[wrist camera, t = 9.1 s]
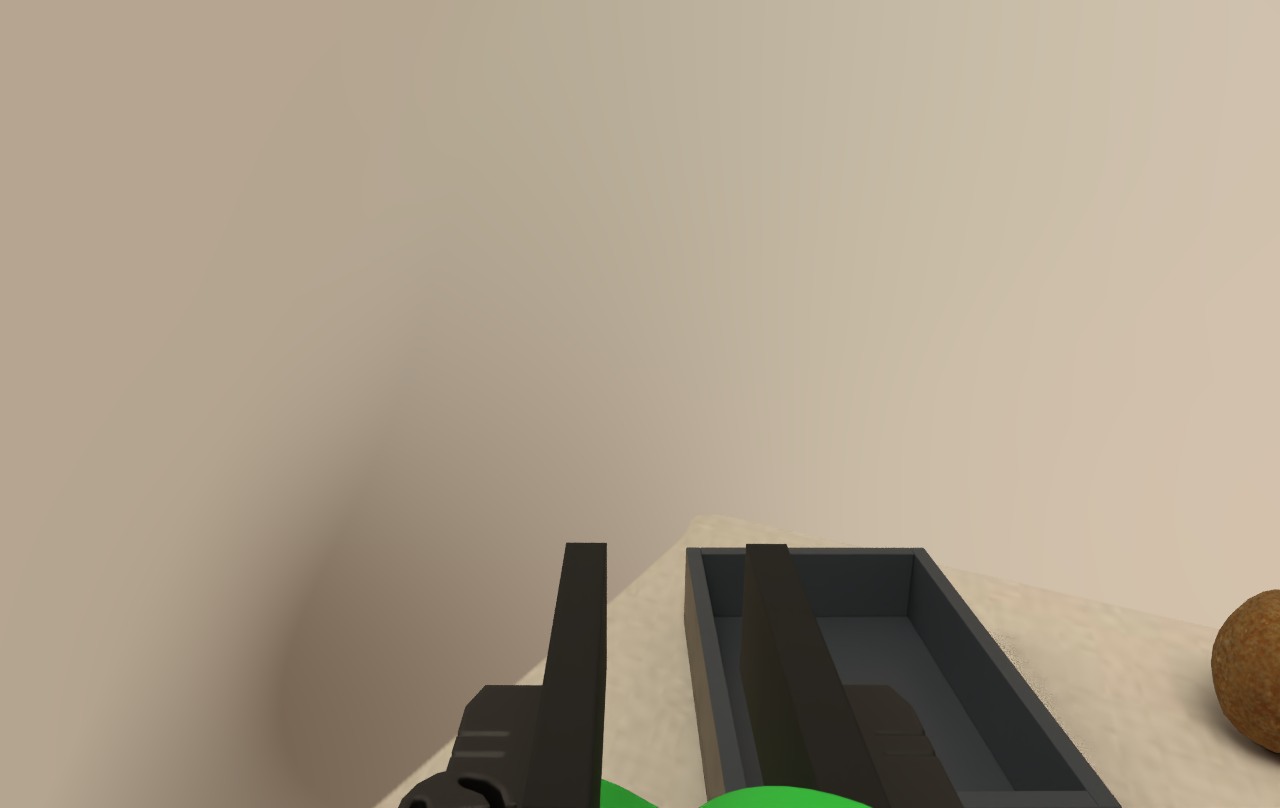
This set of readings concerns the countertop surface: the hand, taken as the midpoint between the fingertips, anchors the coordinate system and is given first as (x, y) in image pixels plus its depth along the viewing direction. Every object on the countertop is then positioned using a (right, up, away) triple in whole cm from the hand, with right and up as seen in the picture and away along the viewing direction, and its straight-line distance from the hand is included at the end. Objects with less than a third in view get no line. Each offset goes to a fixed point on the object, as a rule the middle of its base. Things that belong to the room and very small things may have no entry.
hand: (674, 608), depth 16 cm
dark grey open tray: (+9, -12, +23) cm, 28 cm away
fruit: (+29, -12, +23) cm, 39 cm away
